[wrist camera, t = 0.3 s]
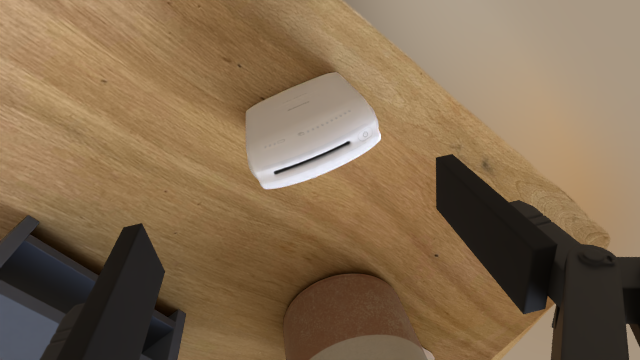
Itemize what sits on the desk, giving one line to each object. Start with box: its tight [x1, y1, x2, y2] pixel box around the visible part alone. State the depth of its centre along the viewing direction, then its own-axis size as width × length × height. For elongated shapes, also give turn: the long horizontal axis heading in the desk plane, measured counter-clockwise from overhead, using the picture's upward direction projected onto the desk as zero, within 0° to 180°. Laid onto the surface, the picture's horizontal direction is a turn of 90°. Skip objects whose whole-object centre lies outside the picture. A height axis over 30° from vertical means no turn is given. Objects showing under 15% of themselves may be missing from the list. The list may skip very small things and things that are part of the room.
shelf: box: [0, 215, 186, 360], centre depth 38 cm, size 20×12×9 cm, turn 38°
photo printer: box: [246, 72, 381, 189], centre depth 31 cm, size 10×4×12 cm, turn 111°
